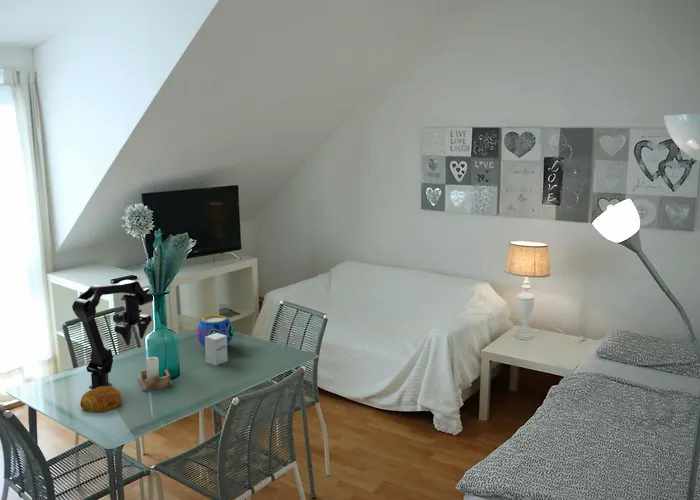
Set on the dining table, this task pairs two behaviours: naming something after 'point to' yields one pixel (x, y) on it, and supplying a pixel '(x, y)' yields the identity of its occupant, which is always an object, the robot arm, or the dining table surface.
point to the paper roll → (152, 367)
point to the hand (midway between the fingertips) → (134, 342)
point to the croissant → (101, 399)
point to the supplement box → (216, 349)
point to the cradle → (154, 381)
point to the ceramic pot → (214, 328)
